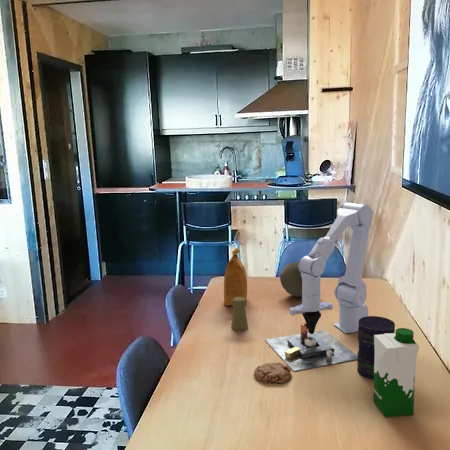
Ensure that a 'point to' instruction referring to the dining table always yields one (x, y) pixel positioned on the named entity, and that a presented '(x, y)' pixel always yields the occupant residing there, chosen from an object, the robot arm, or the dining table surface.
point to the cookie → (272, 373)
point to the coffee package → (234, 279)
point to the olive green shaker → (239, 314)
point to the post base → (311, 360)
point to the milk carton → (395, 372)
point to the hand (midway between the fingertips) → (310, 332)
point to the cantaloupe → (292, 279)
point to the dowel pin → (328, 355)
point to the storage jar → (370, 342)
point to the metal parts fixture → (301, 350)
